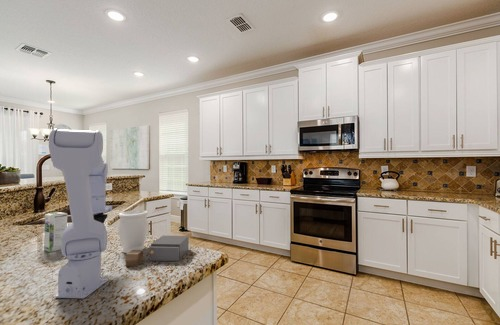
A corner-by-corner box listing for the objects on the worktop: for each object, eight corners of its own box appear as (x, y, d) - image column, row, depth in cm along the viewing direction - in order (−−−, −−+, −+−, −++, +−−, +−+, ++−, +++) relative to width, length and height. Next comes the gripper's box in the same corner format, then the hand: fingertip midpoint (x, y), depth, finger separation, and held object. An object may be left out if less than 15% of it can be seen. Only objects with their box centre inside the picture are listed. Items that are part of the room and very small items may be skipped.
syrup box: (43, 250, 93) (43, 213, 93) (60, 245, 98) (61, 211, 99) (50, 252, 90) (50, 215, 91) (67, 247, 96) (68, 212, 96)
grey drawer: (177, 261, 81) (177, 248, 81) (147, 260, 82) (148, 247, 82) (187, 250, 92) (187, 238, 92) (161, 249, 93) (161, 238, 93)
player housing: (179, 259, 83) (179, 244, 83) (150, 259, 84) (150, 243, 84) (188, 249, 93) (188, 235, 93) (162, 249, 94) (162, 235, 94)
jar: (135, 255, 87) (135, 215, 88) (112, 253, 89) (112, 214, 90) (152, 246, 98) (153, 210, 98) (131, 244, 100) (131, 209, 100)
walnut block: (137, 266, 78) (137, 254, 78) (125, 265, 78) (125, 254, 78) (143, 261, 82) (143, 249, 82) (132, 261, 82) (132, 249, 82)
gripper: (91, 199, 71) (90, 244, 71) (120, 193, 85) (120, 230, 85) (68, 199, 71) (68, 244, 71) (101, 193, 86) (101, 230, 85)
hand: (95, 236), depth 78 cm, fingers closed
